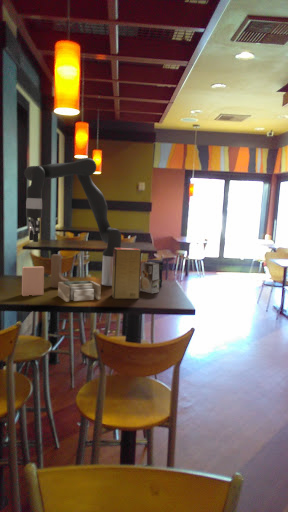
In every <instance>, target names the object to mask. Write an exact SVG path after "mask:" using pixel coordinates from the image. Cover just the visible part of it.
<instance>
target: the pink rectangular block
mask: <svg viewBox="0 0 288 512" xmlns="http://www.w3.org/2000/svg"><path fill="white" fill-rule="evenodd" d="M44 286H45V267H44V266H22V268H21V295H22V296H23V297H30V296H29V295H32V296H44V294H45V293H44V289H45V288H44Z"/></svg>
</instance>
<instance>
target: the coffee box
mask: <svg viewBox="0 0 288 512" xmlns="http://www.w3.org/2000/svg"><path fill="white" fill-rule="evenodd" d="M159 277H160V264H158V263H152V262H147V261H144V262H141V266H140V286H139V292H143V293H148V294H157V293H159V291H160V287H159Z"/></svg>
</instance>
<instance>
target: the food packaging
mask: <svg viewBox="0 0 288 512" xmlns="http://www.w3.org/2000/svg"><path fill="white" fill-rule="evenodd" d="M141 260H142V250H141V249H140V248H138V247H137V248H135V247H134V248H133V247H130V248H129V247H121V248H114V251H113V274H112V286H111V296H112V299H114V300H121V299H122V300H128V299H129V300H139V299H140V285H141V263H142V261H141Z"/></svg>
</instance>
